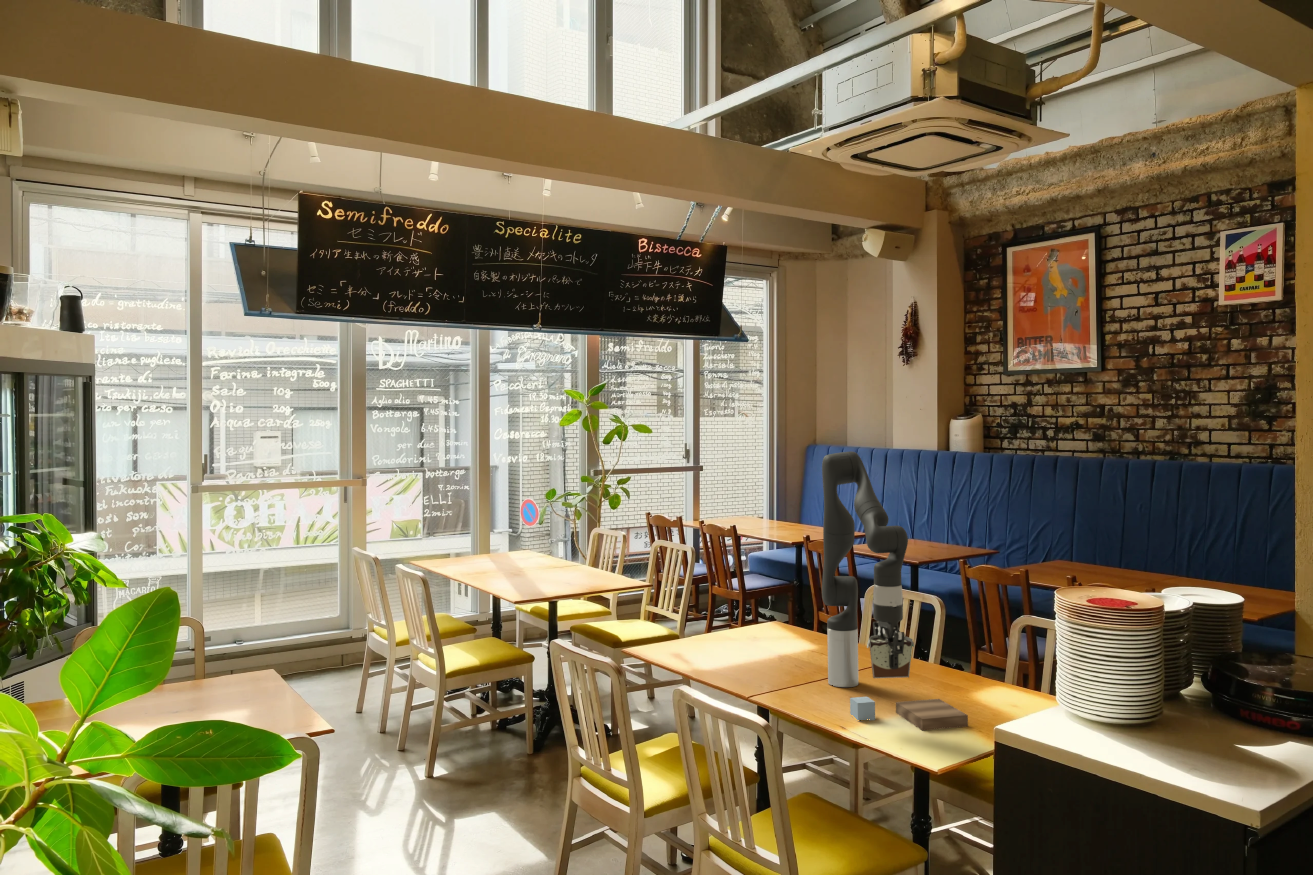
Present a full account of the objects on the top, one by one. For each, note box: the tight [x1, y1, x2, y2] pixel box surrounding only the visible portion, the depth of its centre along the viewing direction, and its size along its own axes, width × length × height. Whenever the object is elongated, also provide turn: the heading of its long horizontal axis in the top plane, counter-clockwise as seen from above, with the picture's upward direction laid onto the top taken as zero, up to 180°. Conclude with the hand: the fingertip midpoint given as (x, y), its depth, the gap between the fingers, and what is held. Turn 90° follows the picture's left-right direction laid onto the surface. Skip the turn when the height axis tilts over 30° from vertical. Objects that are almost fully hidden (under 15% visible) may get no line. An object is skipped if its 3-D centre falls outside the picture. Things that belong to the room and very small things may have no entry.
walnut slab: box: [895, 698, 969, 731], centre depth 239 cm, size 15×13×3 cm
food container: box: [866, 635, 915, 679], centre depth 234 cm, size 12×6×10 cm, turn 92°
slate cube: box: [849, 696, 876, 721], centre depth 242 cm, size 5×5×5 cm
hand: (888, 665), depth 234 cm, fingers closed on food container, 5 cm apart
